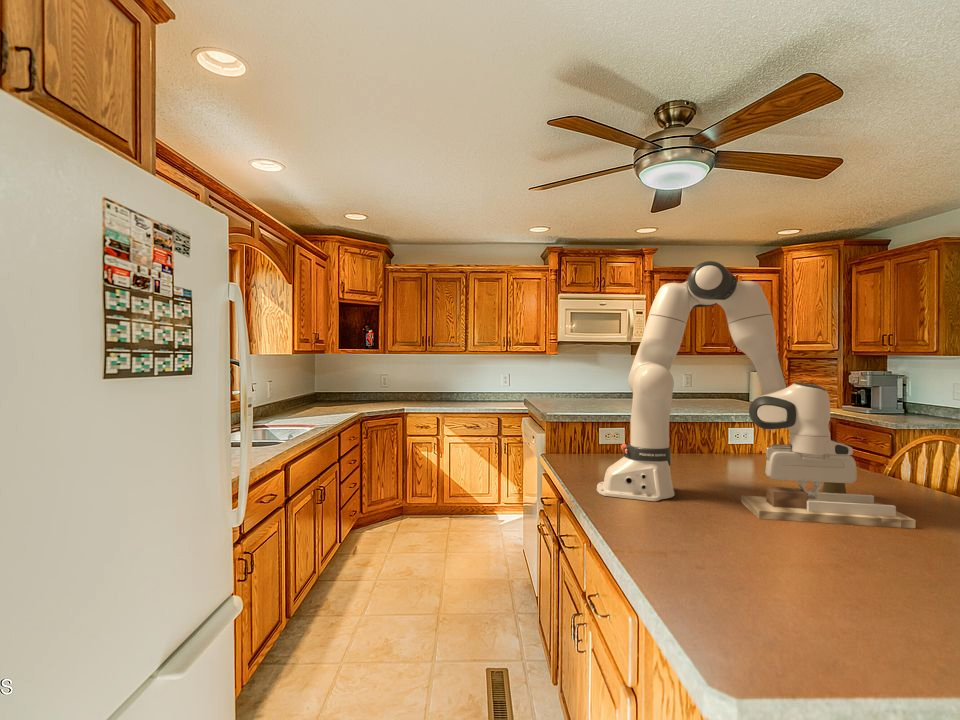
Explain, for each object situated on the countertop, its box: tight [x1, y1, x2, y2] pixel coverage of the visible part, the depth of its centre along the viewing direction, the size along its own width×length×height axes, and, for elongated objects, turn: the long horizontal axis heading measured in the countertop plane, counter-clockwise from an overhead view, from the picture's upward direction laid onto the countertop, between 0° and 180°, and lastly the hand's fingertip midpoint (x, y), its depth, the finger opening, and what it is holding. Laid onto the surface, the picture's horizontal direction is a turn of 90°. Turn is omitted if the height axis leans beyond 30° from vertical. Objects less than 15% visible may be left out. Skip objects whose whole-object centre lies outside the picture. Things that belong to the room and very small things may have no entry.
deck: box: [740, 495, 917, 530], centre depth 126 cm, size 34×14×2 cm, turn 78°
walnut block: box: [765, 486, 808, 509], centre depth 127 cm, size 8×5×4 cm, turn 78°
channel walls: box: [807, 491, 897, 517], centre depth 125 cm, size 19×10×2 cm, turn 78°
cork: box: [821, 482, 847, 494], centre depth 143 cm, size 6×6×11 cm
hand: (809, 498), depth 126 cm, fingers closed
